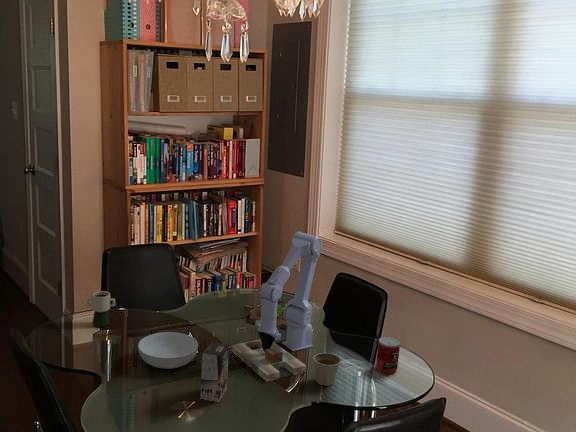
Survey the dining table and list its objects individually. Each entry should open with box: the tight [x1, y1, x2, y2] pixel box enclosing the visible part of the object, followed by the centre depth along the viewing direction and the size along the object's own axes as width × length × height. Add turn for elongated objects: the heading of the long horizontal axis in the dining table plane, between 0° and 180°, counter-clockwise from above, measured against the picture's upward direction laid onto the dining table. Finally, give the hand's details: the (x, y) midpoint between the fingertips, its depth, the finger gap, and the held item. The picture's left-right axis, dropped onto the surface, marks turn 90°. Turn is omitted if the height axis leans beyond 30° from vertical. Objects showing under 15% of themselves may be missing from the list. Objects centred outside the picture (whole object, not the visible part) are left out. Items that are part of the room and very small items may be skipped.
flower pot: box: [313, 352, 342, 387], centre depth 224 cm, size 9×9×9 cm
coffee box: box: [200, 342, 230, 403], centre depth 210 cm, size 9×6×16 cm
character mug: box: [86, 290, 116, 328], centre depth 258 cm, size 11×7×13 cm, turn 97°
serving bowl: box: [137, 331, 199, 370], centre depth 231 cm, size 21×21×7 cm
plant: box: [248, 297, 288, 330], centre depth 275 cm, size 20×20×11 cm
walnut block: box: [265, 347, 283, 364], centre depth 233 cm, size 4×4×4 cm
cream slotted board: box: [230, 338, 307, 382], centre depth 237 cm, size 16×26×2 cm, turn 33°
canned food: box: [375, 336, 401, 375], centre depth 236 cm, size 8×8×11 cm
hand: (266, 351), depth 237 cm, fingers closed
